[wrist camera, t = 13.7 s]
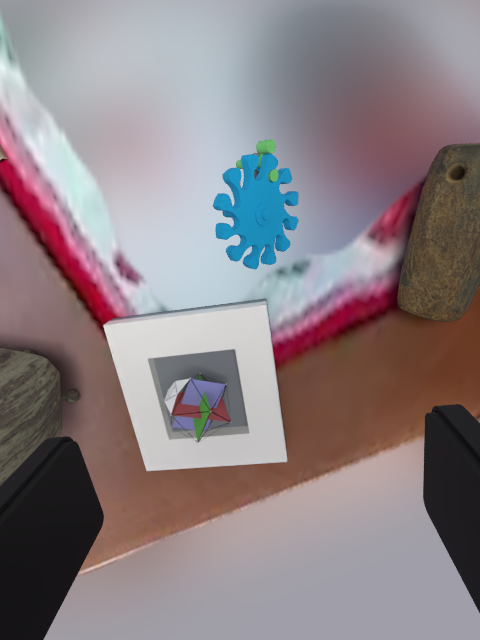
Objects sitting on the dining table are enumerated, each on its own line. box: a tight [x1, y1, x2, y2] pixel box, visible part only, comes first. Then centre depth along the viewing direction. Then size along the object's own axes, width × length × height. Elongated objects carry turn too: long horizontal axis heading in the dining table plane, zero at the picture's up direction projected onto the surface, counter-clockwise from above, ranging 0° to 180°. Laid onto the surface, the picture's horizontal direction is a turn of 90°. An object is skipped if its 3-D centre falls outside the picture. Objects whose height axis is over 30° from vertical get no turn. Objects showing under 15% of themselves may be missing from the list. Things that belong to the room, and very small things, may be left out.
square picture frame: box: [103, 299, 287, 471], centre depth 40 cm, size 18×20×2 cm
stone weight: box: [397, 143, 480, 322], centre depth 30 cm, size 15×7×7 cm, turn 0°
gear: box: [213, 140, 298, 269], centre depth 31 cm, size 11×6×10 cm
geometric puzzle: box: [164, 373, 232, 444], centre depth 37 cm, size 7×7×8 cm
